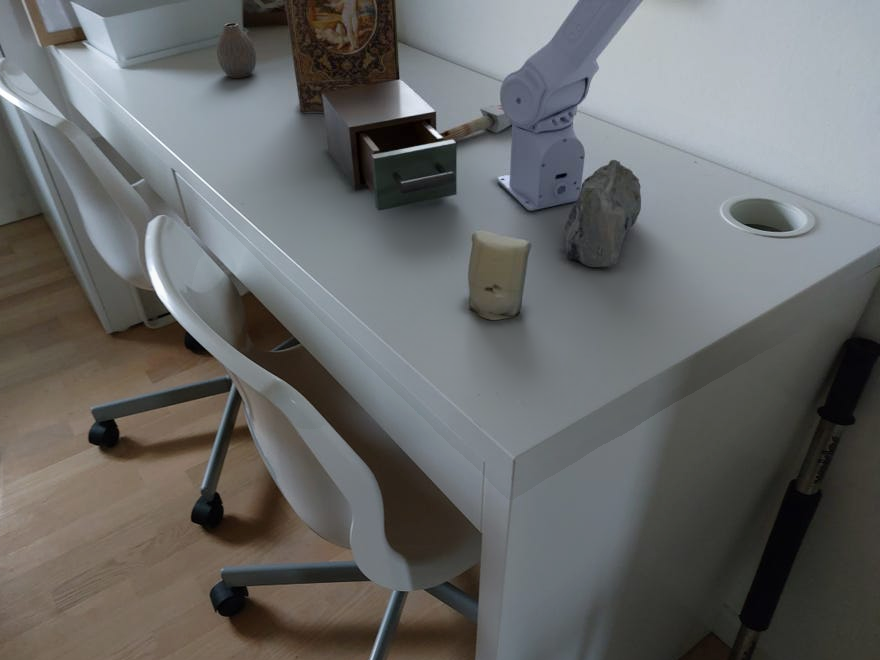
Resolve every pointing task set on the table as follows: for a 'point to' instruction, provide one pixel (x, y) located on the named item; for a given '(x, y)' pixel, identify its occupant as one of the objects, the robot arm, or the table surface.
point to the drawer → (407, 164)
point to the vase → (236, 52)
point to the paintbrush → (480, 124)
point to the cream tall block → (497, 274)
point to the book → (341, 46)
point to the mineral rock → (603, 215)
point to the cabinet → (368, 118)
